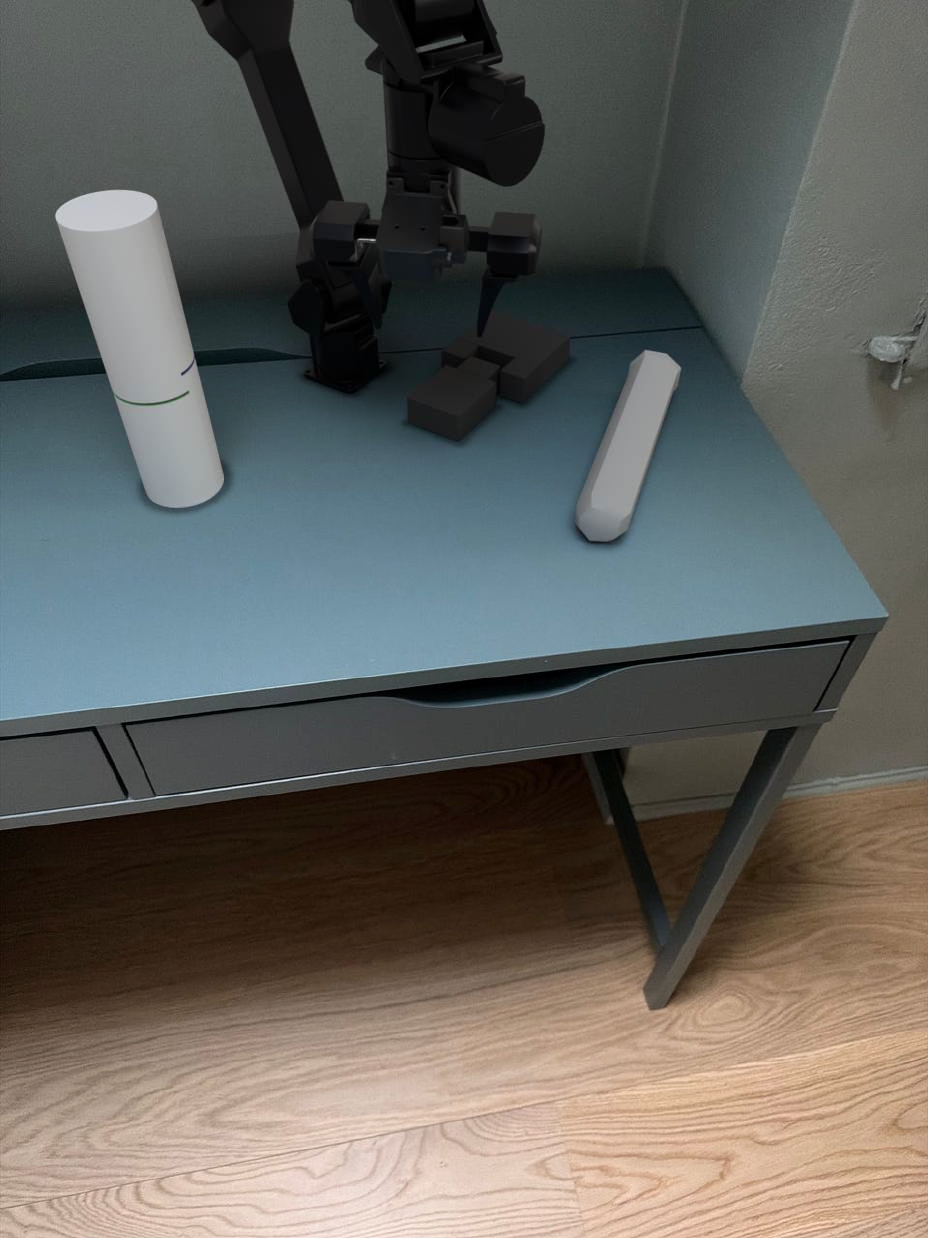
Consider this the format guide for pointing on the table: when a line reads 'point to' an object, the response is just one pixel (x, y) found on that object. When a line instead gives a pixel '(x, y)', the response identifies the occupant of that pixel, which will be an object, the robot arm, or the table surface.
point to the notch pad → (512, 353)
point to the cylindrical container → (143, 341)
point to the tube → (627, 447)
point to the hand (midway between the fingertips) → (429, 331)
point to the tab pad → (455, 398)
